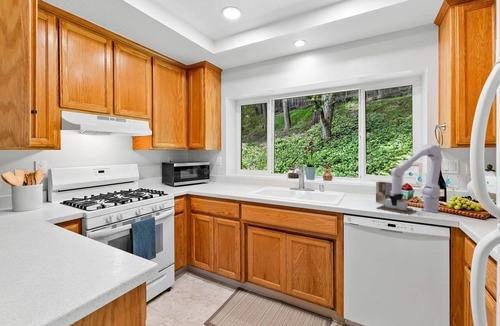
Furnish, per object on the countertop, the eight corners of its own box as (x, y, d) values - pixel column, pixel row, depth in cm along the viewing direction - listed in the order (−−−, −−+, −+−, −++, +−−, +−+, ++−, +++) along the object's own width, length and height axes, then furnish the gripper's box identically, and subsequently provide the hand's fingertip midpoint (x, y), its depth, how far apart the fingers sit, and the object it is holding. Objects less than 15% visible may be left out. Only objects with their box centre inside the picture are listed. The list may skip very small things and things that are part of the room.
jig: (385, 205, 176) (385, 203, 176) (416, 211, 160) (416, 208, 160) (376, 208, 168) (376, 206, 168) (408, 214, 152) (408, 211, 152)
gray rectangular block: (388, 206, 171) (388, 197, 170) (407, 210, 161) (407, 200, 161) (385, 207, 168) (385, 198, 167) (404, 211, 158) (404, 201, 158)
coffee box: (391, 204, 182) (392, 182, 181) (385, 204, 180) (385, 183, 179) (381, 201, 191) (382, 181, 190) (375, 202, 189) (375, 181, 188)
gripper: (395, 183, 171) (394, 202, 172) (385, 185, 162) (385, 205, 163) (406, 184, 165) (405, 204, 166) (396, 186, 157) (396, 207, 157)
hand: (396, 205), depth 164 cm, fingers open, 6 cm apart
